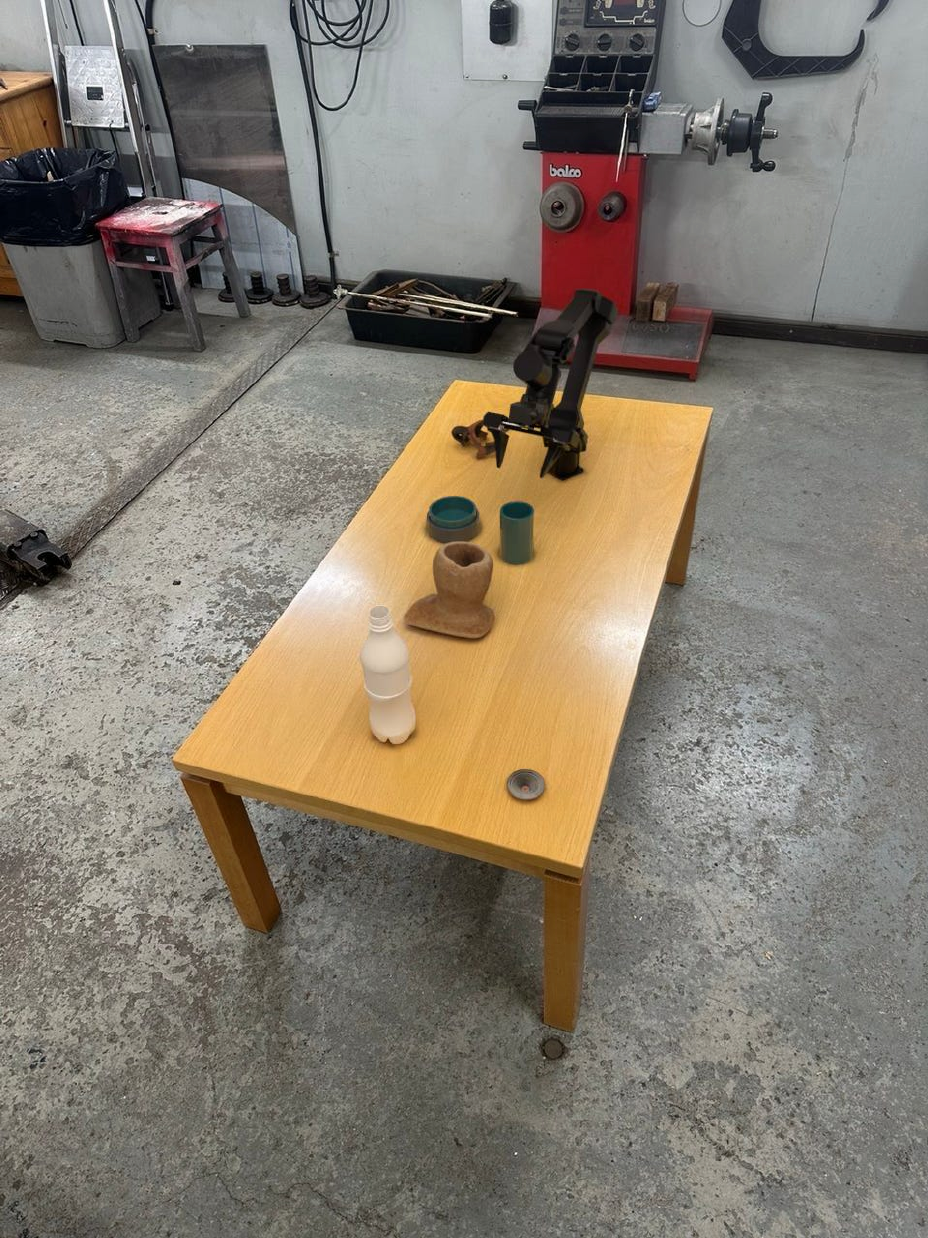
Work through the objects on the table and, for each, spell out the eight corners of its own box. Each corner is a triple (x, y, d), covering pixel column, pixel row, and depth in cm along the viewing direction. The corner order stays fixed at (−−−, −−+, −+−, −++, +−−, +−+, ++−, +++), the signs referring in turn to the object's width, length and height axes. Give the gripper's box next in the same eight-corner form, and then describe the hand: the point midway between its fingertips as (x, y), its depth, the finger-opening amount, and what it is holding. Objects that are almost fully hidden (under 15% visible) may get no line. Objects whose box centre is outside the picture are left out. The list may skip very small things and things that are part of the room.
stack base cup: (460, 508, 182) (459, 495, 180) (489, 531, 175) (489, 518, 173) (417, 525, 178) (416, 512, 175) (446, 550, 171) (445, 536, 169)
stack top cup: (459, 510, 181) (458, 490, 178) (485, 531, 175) (485, 511, 172) (421, 526, 177) (420, 506, 174) (447, 547, 171) (446, 527, 168)
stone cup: (504, 608, 156) (504, 541, 147) (482, 649, 148) (480, 582, 138) (428, 591, 161) (424, 525, 151) (403, 630, 153) (396, 564, 143)
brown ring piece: (497, 438, 206) (506, 418, 198) (495, 471, 202) (504, 452, 195) (449, 428, 204) (456, 408, 196) (445, 462, 200) (453, 442, 193)
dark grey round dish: (515, 808, 122) (515, 803, 122) (501, 780, 126) (501, 774, 126) (550, 798, 124) (550, 792, 123) (535, 769, 128) (536, 764, 127)
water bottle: (371, 717, 137) (353, 597, 120) (416, 713, 137) (404, 593, 121) (371, 751, 131) (353, 631, 115) (417, 747, 132) (405, 626, 115)
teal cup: (519, 541, 172) (520, 497, 165) (539, 556, 168) (540, 512, 161) (493, 552, 170) (493, 508, 163) (513, 568, 166) (513, 523, 159)
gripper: (482, 375, 161) (461, 456, 163) (574, 392, 154) (552, 476, 156) (501, 389, 171) (482, 465, 173) (589, 406, 165) (568, 485, 166)
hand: (519, 472), depth 167 cm, fingers open, 9 cm apart
